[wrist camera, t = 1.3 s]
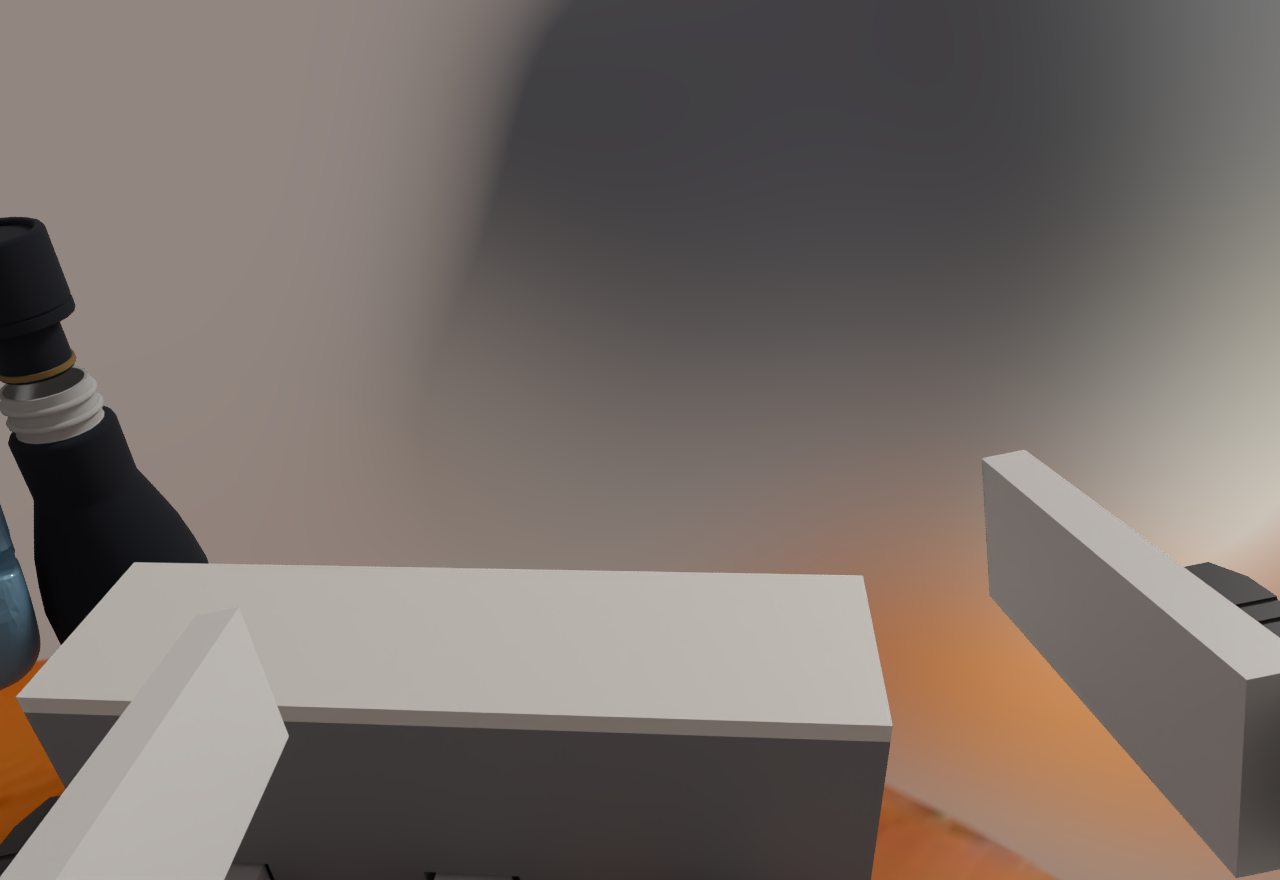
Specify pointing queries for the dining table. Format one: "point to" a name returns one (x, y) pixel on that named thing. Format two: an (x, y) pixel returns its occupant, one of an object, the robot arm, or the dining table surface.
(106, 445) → the wine bottle
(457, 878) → the sage button
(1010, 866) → the dining table surface
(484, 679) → the control panel
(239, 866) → the slate button
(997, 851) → the dining table surface
